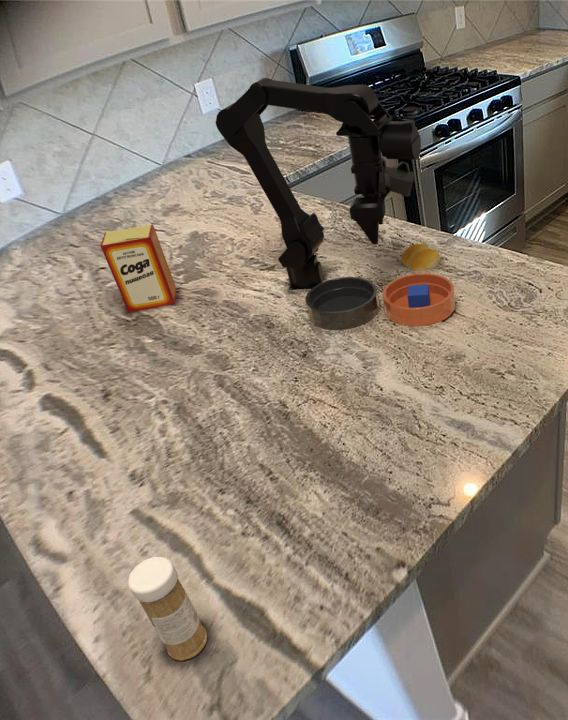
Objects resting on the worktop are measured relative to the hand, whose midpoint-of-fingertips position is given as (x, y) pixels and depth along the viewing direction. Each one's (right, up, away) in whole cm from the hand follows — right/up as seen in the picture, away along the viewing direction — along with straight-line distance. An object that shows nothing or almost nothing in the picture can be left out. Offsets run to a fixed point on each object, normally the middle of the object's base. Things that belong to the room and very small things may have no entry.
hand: (377, 233), depth 134 cm
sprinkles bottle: (-15, -59, -57) cm, 83 cm away
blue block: (+9, -15, 0) cm, 17 cm away
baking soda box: (-50, -13, +10) cm, 53 cm away
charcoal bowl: (-7, -16, +1) cm, 18 cm away
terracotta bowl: (+9, -15, 0) cm, 18 cm away
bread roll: (+8, -4, +16) cm, 19 cm away
